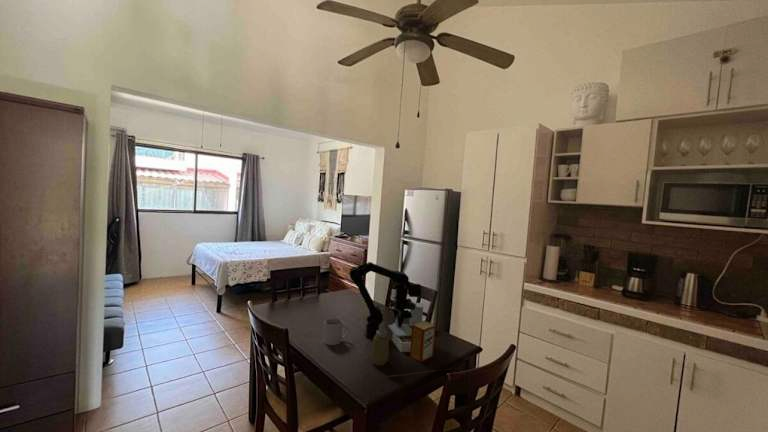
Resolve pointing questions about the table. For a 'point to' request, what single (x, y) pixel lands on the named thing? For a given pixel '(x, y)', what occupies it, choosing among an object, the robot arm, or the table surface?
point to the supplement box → (416, 314)
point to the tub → (401, 344)
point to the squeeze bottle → (380, 347)
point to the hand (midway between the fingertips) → (398, 325)
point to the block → (406, 339)
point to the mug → (333, 331)
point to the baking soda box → (422, 341)
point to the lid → (400, 329)
